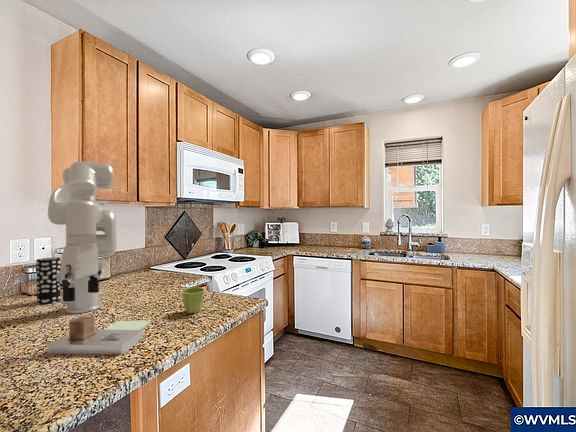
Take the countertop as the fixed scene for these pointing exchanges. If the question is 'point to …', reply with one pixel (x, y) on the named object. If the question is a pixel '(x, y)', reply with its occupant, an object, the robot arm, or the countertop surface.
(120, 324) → the sage pad
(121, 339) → the socket plate
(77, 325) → the walnut block
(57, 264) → the spotted tube
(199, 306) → the plant pot
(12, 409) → the countertop surface
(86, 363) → the countertop surface
